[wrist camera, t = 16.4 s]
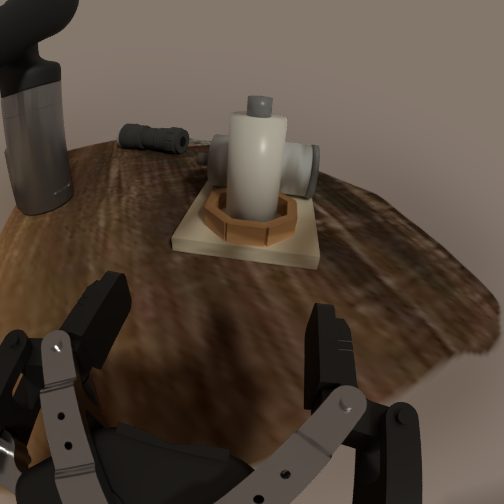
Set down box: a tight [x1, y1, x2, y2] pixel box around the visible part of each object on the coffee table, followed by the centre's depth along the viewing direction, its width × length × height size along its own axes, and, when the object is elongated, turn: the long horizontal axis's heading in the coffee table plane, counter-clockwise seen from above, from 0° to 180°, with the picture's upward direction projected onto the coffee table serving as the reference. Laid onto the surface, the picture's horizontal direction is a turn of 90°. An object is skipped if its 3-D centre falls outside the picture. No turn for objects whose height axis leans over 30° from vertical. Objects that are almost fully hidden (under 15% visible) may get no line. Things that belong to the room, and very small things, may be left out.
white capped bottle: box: [226, 96, 288, 223], centre depth 27 cm, size 5×5×13 cm
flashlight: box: [117, 124, 189, 154], centre depth 53 cm, size 15×5×5 cm, turn 70°
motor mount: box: [172, 135, 320, 270], centre depth 32 cm, size 15×17×8 cm
